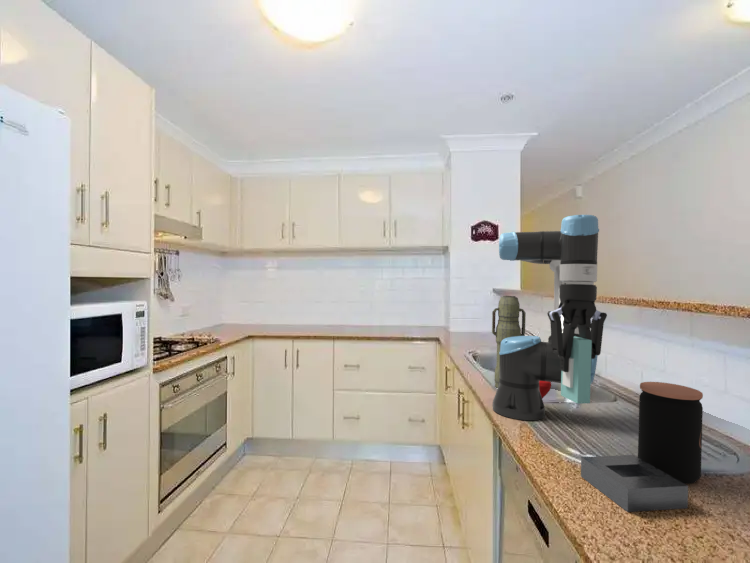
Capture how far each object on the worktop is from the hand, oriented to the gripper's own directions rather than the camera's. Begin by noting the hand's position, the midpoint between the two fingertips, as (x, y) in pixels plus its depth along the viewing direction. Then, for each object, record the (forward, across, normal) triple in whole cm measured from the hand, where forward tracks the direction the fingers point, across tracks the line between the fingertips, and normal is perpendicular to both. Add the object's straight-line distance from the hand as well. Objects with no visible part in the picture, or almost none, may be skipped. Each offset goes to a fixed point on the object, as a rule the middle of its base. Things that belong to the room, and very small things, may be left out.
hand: (575, 385), depth 86 cm
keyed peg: (+3, 0, 0) cm, 3 cm away
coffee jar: (+17, +16, -8) cm, 25 cm away
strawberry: (+17, +18, +42) cm, 49 cm away
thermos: (+17, +11, +55) cm, 59 cm away
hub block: (+16, +2, -14) cm, 22 cm away
